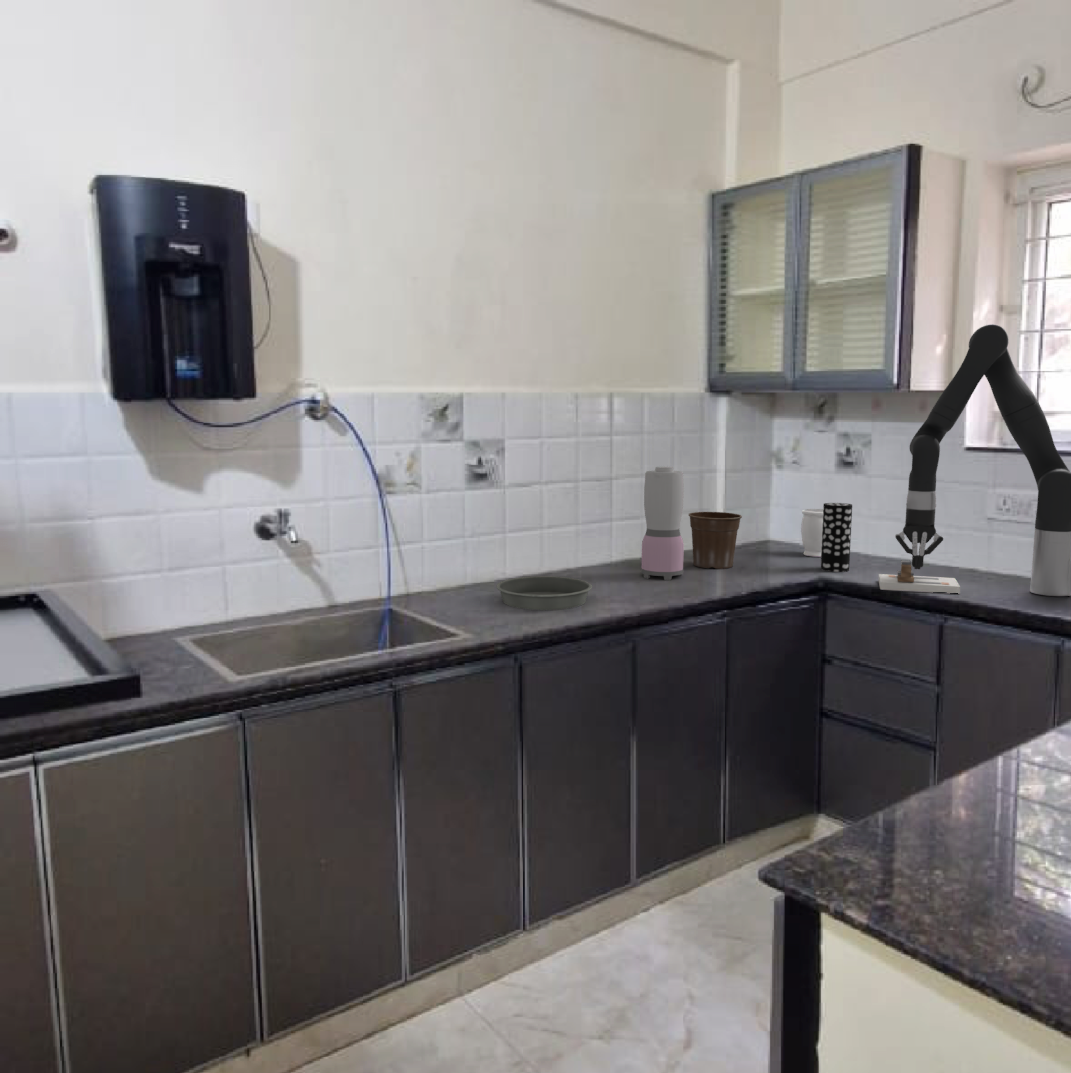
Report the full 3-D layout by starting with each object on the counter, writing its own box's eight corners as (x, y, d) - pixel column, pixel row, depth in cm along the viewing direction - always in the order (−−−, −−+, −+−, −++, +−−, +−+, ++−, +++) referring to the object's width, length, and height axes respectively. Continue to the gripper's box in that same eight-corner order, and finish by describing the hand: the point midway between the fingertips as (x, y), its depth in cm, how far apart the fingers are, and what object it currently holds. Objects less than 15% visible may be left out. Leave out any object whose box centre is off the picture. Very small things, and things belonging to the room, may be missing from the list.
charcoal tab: (912, 575, 268) (913, 560, 268) (913, 577, 265) (914, 562, 264) (897, 574, 269) (898, 560, 269) (898, 576, 266) (898, 562, 265)
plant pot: (750, 566, 296) (752, 514, 294) (719, 572, 285) (720, 519, 283) (708, 559, 308) (710, 510, 306) (676, 565, 297) (677, 514, 295)
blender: (675, 581, 271) (678, 469, 266) (635, 578, 276) (637, 467, 271) (691, 572, 285) (693, 465, 280) (652, 569, 290) (654, 464, 285)
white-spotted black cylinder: (850, 572, 286) (853, 506, 283) (821, 571, 287) (824, 505, 284) (847, 567, 294) (850, 503, 291) (819, 566, 295) (822, 502, 292)
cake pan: (476, 601, 245) (476, 584, 244) (544, 588, 262) (544, 572, 261) (544, 617, 228) (544, 598, 227) (611, 602, 245) (611, 584, 244)
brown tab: (912, 579, 262) (913, 564, 261) (913, 582, 258) (914, 566, 258) (897, 579, 263) (898, 564, 262) (898, 581, 259) (898, 566, 259)
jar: (812, 551, 324) (814, 508, 322) (839, 555, 316) (841, 510, 314) (793, 555, 317) (795, 510, 315) (820, 559, 310) (822, 513, 307)
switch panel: (954, 585, 266) (954, 577, 266) (959, 594, 254) (960, 586, 254) (878, 580, 272) (878, 573, 272) (880, 589, 260) (880, 581, 260)
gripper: (945, 506, 265) (941, 567, 267) (894, 504, 269) (891, 565, 271) (948, 509, 258) (944, 572, 260) (896, 507, 262) (892, 569, 264)
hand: (917, 568), depth 266 cm, fingers closed
